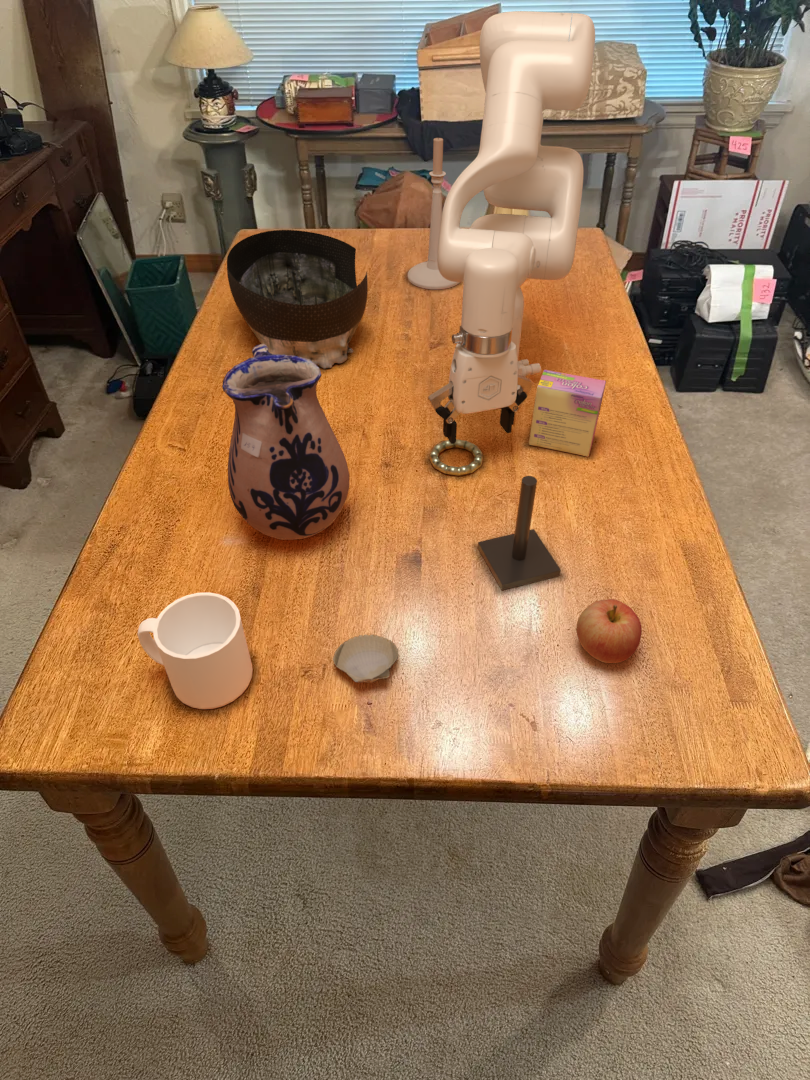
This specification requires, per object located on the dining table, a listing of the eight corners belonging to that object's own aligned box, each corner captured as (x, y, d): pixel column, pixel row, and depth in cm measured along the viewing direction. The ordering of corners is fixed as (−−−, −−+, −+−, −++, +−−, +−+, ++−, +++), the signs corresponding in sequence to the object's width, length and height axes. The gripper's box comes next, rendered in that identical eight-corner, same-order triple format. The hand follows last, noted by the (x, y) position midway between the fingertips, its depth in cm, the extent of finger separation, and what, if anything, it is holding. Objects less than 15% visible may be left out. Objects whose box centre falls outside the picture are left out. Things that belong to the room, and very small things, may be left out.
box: (594, 438, 131) (606, 379, 123) (589, 457, 127) (601, 397, 119) (535, 427, 134) (543, 368, 126) (528, 445, 130) (536, 386, 122)
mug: (260, 647, 99) (249, 594, 92) (242, 713, 92) (228, 661, 85) (166, 641, 100) (147, 588, 93) (141, 706, 93) (118, 654, 85)
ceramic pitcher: (260, 574, 108) (231, 430, 91) (215, 489, 122) (183, 350, 104) (371, 535, 114) (364, 393, 97) (316, 458, 128) (302, 321, 110)
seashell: (390, 649, 101) (330, 644, 99) (395, 631, 99) (334, 626, 97) (397, 694, 94) (333, 689, 92) (402, 676, 92) (338, 671, 91)
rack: (532, 534, 114) (545, 453, 104) (559, 575, 108) (576, 494, 97) (477, 547, 112) (484, 466, 102) (501, 590, 106) (511, 509, 95)
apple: (580, 617, 102) (590, 577, 97) (639, 635, 100) (653, 594, 95) (565, 662, 97) (575, 621, 92) (628, 681, 95) (642, 641, 89)
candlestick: (463, 289, 172) (471, 146, 151) (407, 289, 172) (406, 146, 151) (461, 265, 181) (468, 127, 160) (407, 264, 181) (407, 127, 161)
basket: (377, 295, 170) (375, 222, 159) (363, 380, 145) (359, 300, 134) (252, 292, 171) (241, 220, 160) (217, 376, 146) (200, 297, 135)
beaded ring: (470, 440, 131) (471, 433, 130) (490, 470, 125) (491, 464, 124) (422, 450, 129) (422, 443, 128) (440, 481, 123) (440, 474, 122)
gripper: (439, 357, 108) (435, 456, 119) (550, 340, 112) (536, 437, 123) (422, 334, 113) (420, 430, 124) (528, 318, 117) (517, 413, 128)
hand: (478, 433), depth 124 cm, fingers open, 9 cm apart
